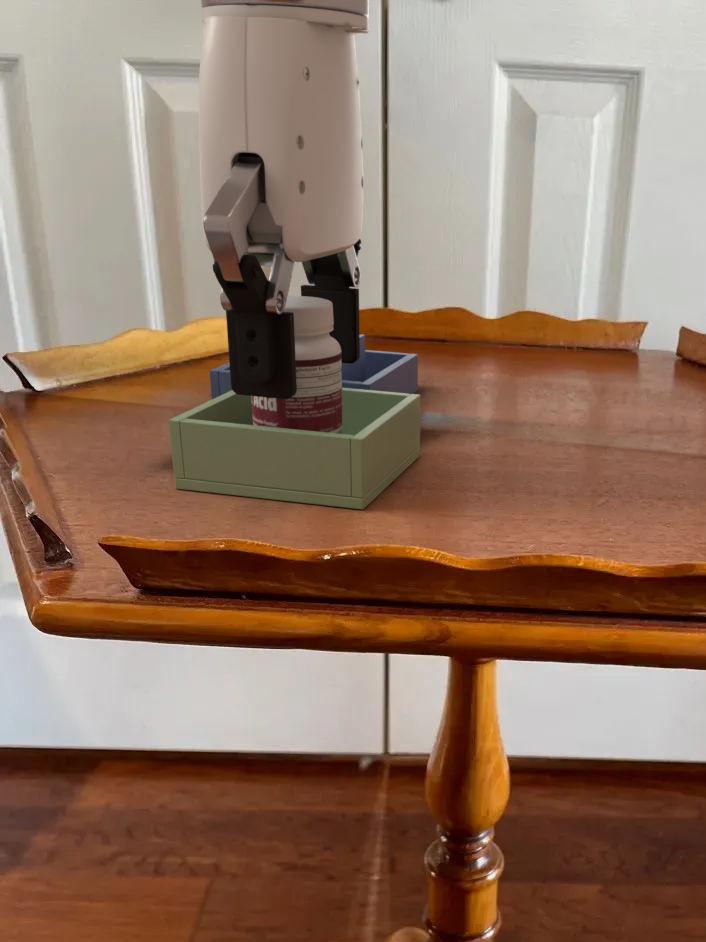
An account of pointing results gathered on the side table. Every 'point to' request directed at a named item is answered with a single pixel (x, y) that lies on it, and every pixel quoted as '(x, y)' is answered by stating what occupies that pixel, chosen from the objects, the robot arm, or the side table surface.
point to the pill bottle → (309, 374)
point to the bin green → (297, 450)
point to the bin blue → (380, 376)
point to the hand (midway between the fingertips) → (300, 376)
